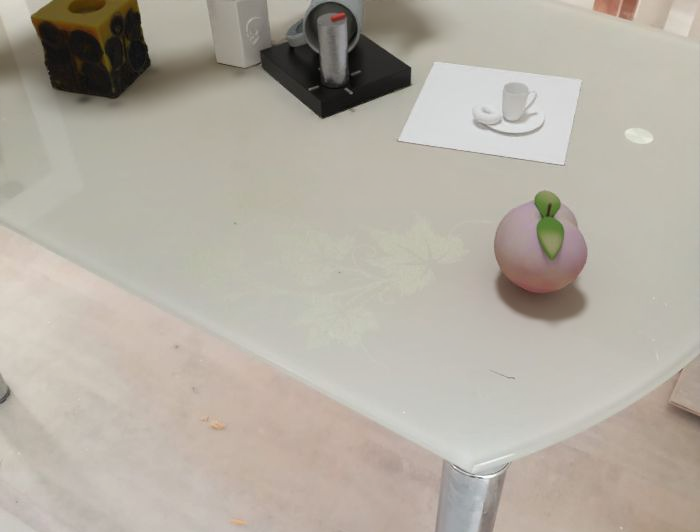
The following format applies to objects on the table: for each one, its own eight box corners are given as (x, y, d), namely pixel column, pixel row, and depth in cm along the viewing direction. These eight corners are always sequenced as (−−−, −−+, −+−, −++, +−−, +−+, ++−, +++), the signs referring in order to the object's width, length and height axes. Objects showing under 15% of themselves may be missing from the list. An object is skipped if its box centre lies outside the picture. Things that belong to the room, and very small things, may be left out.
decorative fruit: (481, 256, 80) (491, 176, 72) (559, 250, 80) (577, 170, 73) (499, 321, 74) (512, 241, 66) (584, 315, 74) (607, 234, 66)
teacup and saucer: (467, 130, 95) (470, 100, 92) (479, 97, 100) (483, 67, 97) (539, 140, 93) (544, 110, 90) (548, 106, 98) (553, 76, 95)
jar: (232, 75, 106) (218, -14, 97) (203, 52, 111) (187, -35, 102) (286, 54, 110) (278, -33, 101) (256, 33, 114) (246, -53, 105)
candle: (51, 89, 105) (26, 17, 98) (90, 54, 111) (69, -17, 104) (116, 100, 103) (96, 27, 95) (153, 63, 109) (136, -8, 101)
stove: (261, 67, 107) (259, 49, 105) (346, 38, 112) (345, 20, 110) (325, 121, 98) (324, 102, 96) (415, 87, 102) (415, 69, 100)
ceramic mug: (365, 29, 108) (363, -27, 103) (361, 58, 103) (358, 0, 97) (291, 30, 109) (285, -26, 104) (282, 58, 104) (275, 1, 98)
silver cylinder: (330, 91, 98) (327, 27, 92) (315, 79, 100) (311, 15, 94) (354, 82, 99) (352, 18, 93) (339, 70, 101) (336, 7, 95)
